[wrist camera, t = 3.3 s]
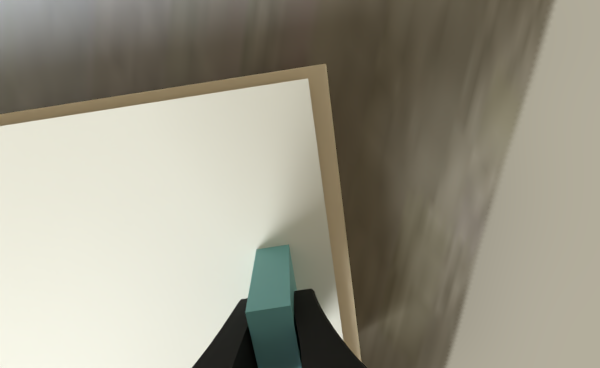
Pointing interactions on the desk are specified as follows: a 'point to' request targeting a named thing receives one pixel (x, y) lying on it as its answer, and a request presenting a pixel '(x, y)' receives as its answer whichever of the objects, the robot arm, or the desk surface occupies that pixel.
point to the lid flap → (162, 230)
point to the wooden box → (324, 146)
